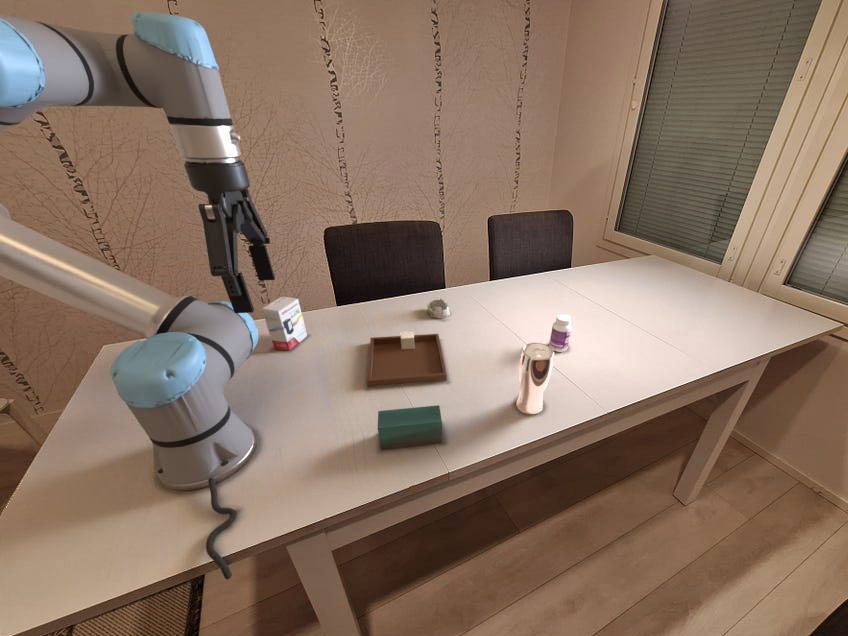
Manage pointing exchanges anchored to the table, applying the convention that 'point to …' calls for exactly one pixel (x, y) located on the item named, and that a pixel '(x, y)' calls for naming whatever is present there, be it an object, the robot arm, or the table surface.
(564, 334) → the pill bottle
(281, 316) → the ink box
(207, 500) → the table surface
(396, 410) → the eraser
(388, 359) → the tray
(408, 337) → the cream white cube
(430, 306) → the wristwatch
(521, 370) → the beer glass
